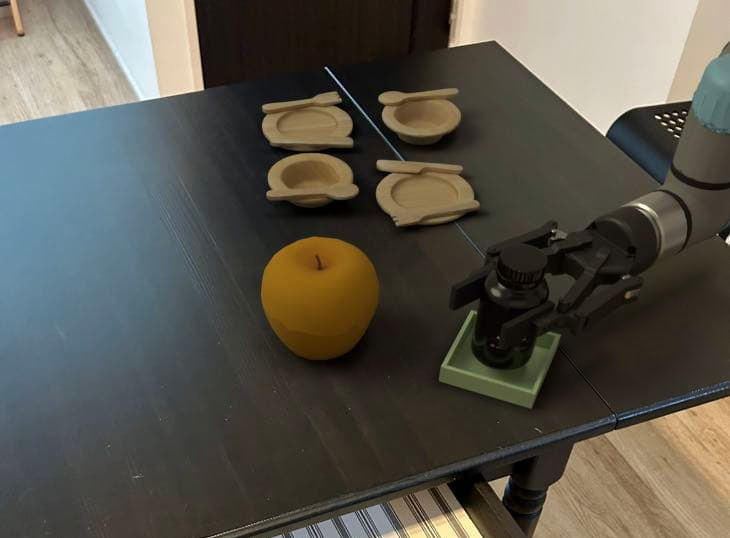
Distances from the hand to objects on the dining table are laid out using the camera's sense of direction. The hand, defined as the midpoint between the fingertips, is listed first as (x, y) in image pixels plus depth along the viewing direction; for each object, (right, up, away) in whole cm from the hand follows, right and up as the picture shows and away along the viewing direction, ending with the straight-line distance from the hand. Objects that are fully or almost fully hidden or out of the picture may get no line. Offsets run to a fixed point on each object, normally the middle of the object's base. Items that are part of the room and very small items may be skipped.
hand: (477, 317), depth 83 cm
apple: (-16, 0, +12) cm, 20 cm away
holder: (+4, -3, +9) cm, 10 cm away
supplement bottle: (+4, -2, +8) cm, 9 cm away
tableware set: (-10, +31, +34) cm, 47 cm away
